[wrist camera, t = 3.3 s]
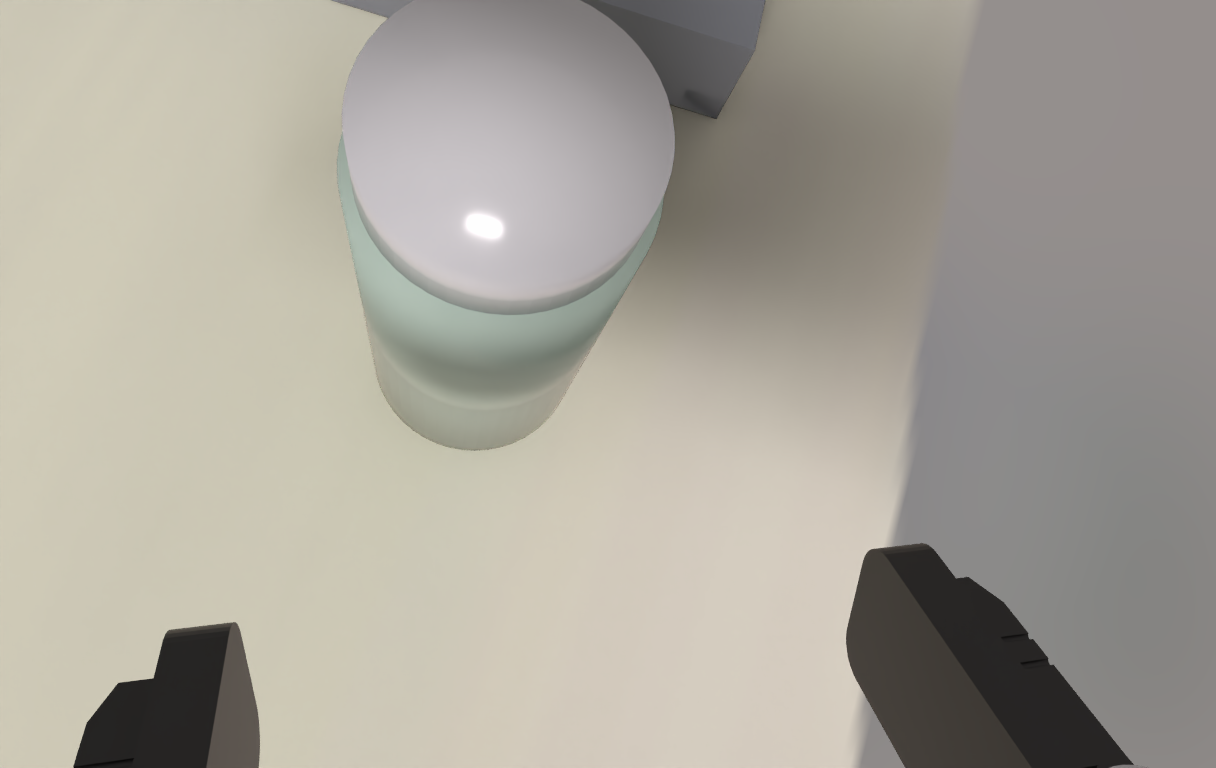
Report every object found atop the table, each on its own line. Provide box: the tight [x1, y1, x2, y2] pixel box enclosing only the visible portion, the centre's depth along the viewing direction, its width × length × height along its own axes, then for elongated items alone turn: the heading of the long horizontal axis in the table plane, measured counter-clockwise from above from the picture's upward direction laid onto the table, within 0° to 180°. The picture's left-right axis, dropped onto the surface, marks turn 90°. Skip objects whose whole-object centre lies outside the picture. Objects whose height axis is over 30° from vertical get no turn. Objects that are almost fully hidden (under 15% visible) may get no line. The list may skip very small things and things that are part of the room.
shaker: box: [337, 0, 675, 451], centre depth 19 cm, size 5×5×12 cm
